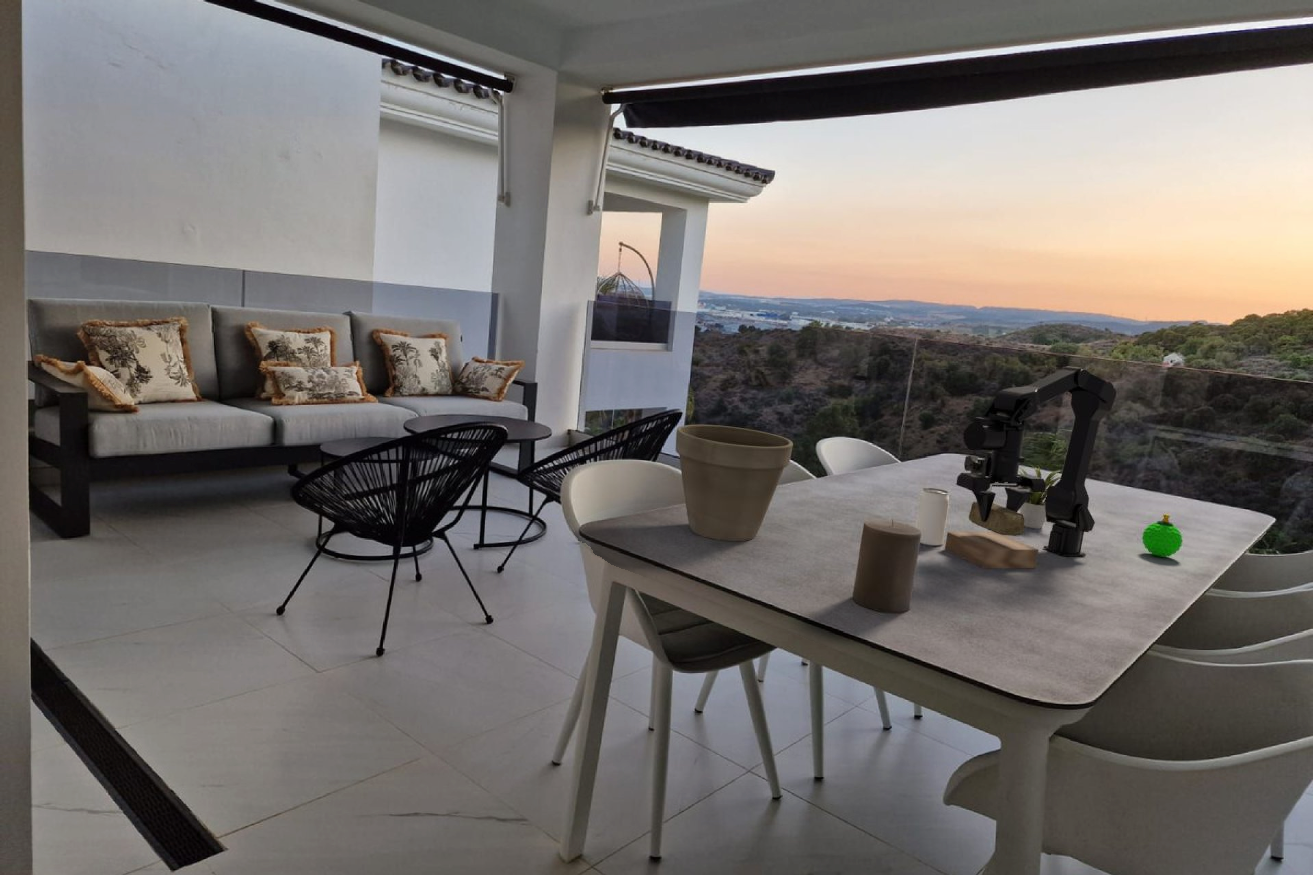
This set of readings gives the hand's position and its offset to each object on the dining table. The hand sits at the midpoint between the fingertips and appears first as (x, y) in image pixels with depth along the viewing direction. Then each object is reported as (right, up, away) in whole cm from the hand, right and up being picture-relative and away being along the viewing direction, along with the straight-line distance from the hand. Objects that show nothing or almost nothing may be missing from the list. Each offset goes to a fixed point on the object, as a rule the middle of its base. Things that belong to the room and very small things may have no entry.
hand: (995, 521), depth 179 cm
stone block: (0, -2, 0) cm, 2 cm away
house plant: (+26, -5, +37) cm, 45 cm away
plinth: (-1, -8, +1) cm, 8 cm away
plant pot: (-58, -3, +2) cm, 58 cm away
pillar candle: (-34, -11, -34) cm, 49 cm away
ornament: (+45, -10, +17) cm, 50 cm away
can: (-11, -6, +10) cm, 16 cm away
